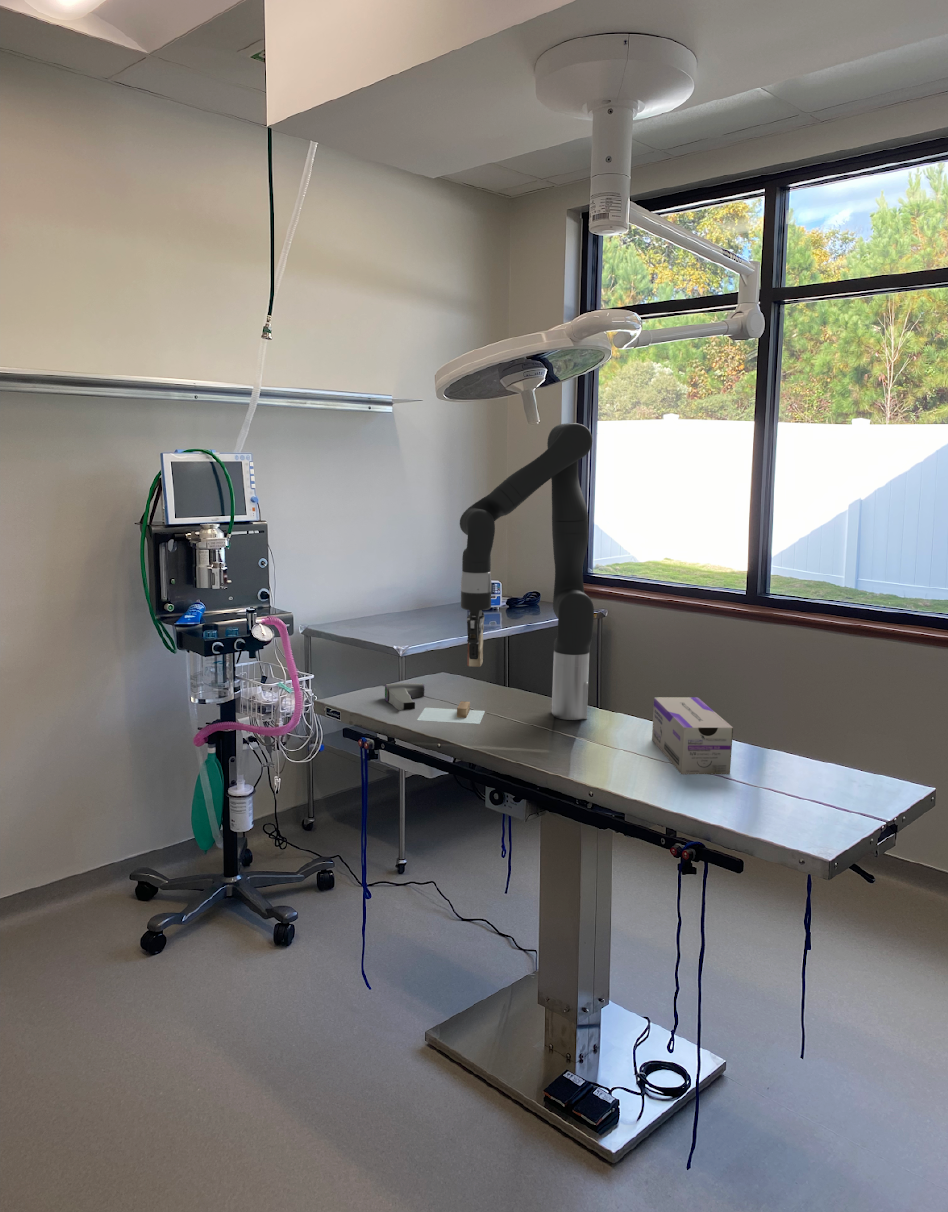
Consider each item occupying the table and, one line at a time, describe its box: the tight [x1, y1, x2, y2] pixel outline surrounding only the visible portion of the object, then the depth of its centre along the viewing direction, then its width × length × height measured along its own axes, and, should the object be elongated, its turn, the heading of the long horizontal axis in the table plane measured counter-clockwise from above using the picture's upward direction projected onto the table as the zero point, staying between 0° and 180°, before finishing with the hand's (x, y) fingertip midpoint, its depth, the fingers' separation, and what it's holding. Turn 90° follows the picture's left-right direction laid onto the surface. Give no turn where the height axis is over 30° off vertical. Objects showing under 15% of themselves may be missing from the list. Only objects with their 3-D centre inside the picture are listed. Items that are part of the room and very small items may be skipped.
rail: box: [456, 700, 471, 718], centre depth 241 cm, size 2×7×2 cm, turn 173°
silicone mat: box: [416, 707, 486, 725], centre depth 239 cm, size 16×12×1 cm
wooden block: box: [466, 630, 484, 668], centre depth 232 cm, size 3×6×8 cm, turn 173°
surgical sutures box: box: [651, 696, 734, 775], centre depth 212 cm, size 25×11×11 cm, turn 4°
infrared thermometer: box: [384, 682, 425, 712], centre depth 252 cm, size 5×12×15 cm
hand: (475, 656), depth 233 cm, fingers closed on wooden block, 5 cm apart
